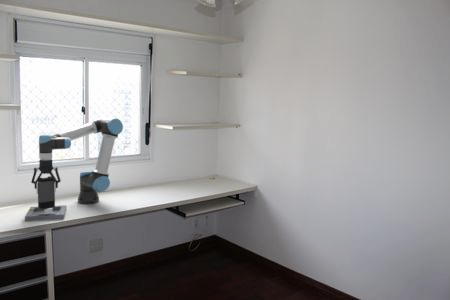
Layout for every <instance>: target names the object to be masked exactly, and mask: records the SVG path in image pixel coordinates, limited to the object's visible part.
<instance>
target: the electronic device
mask: <svg viewBox="0 0 450 300" xmlns="http://www.w3.org/2000/svg"><path fill="white" fill-rule="evenodd" d="M37 178H38V177H37ZM37 183H38V194H37V205H38V206H37V207H38V208H39V209H41V210H44V209H52V208H54V207H55V206H56V194H54V183H55V181H54V180H53V178H52V177H51V175H50V176H47V177H40V178H38V182H37Z"/></svg>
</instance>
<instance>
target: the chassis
mask: <svg viewBox="0 0 450 300" xmlns="http://www.w3.org/2000/svg"><path fill="white" fill-rule="evenodd" d="M66 213H67V205H66V204H65V205H64V204H63V205H55V207H54V208H49V209H44V210H41V209H39V208H38V206H30V207H29V209H28V211H27V213H26V214H25V216H24V222H36V221H37V222H39V221H52V220H65V215H66Z"/></svg>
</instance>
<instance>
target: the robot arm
mask: <svg viewBox="0 0 450 300" xmlns="http://www.w3.org/2000/svg"><path fill="white" fill-rule="evenodd" d="M123 130H124V125H123V122H122V121H121V119H119V118H116V117H108V116H104V117H103V116H102V117H99V118H96V119H94V120H91V121H89V122H88V123H86V124H83V125H81V126H77V127H74V128H71V129H69V130H66V131H62V132H59V133H56V134H54V135H53V134H52V135H50V134H41V135H39V137H38V148H39V149H38V157H39V161H38V163H39V165H38V166H39V167H34V168H33V171H34V172H33V175H32V178H31V181H30V182H31V184H34V189H35V190H36V195H38V178H42V175H45V174H47V175H50V176H51V177H52V178H53V180H54V181H55V183H54V194H55V195H56V194H57V189H58V185H59V183H61V181H62V180H61V177H60V174H59V172H58V171H59V168H58V167H55V166H53V150H67V149H70V148H71V146H72V141H74V140H75V141H76V140H77V139H80V138H83V137H85V136H89V135H91V134H95V135H96V134H99V133H101V136H102V139H101V144H100V147H99V152H98V155H97V159H96V164H95V167H94V169H93V170H84V171H80V174H79V194H78V196H77V203H79V204H83V205H90V204H96V203H99V202H100V197H99V194H98V192H99V193H102V192H105V191H107V189H109V187H110V184H111V181H110V179H109V177H110V176H109V175H110V174H109V172H108V170H109V166H110V163H111V162H110V161H111V157H112V153H113V149H114V145H115V142H116V141H115V140H116V139H117V138H118V137H119V135H120V134H121V133H122V132H123ZM53 170H54V172H55V175H54V173H53ZM38 171H40V173H39V175H38V177H37V178H36V176H37V172H38ZM55 176H56V177H55ZM35 179H36V180H35Z"/></svg>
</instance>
